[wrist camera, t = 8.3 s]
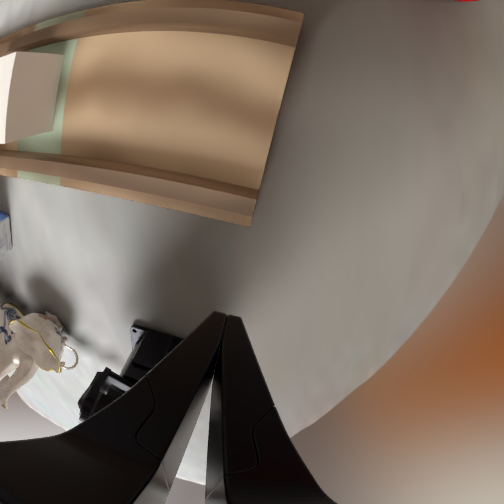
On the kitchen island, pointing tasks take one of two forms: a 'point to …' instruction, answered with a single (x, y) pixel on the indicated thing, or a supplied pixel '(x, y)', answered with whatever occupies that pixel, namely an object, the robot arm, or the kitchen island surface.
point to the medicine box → (5, 234)
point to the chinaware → (28, 347)
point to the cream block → (28, 94)
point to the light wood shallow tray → (161, 102)
